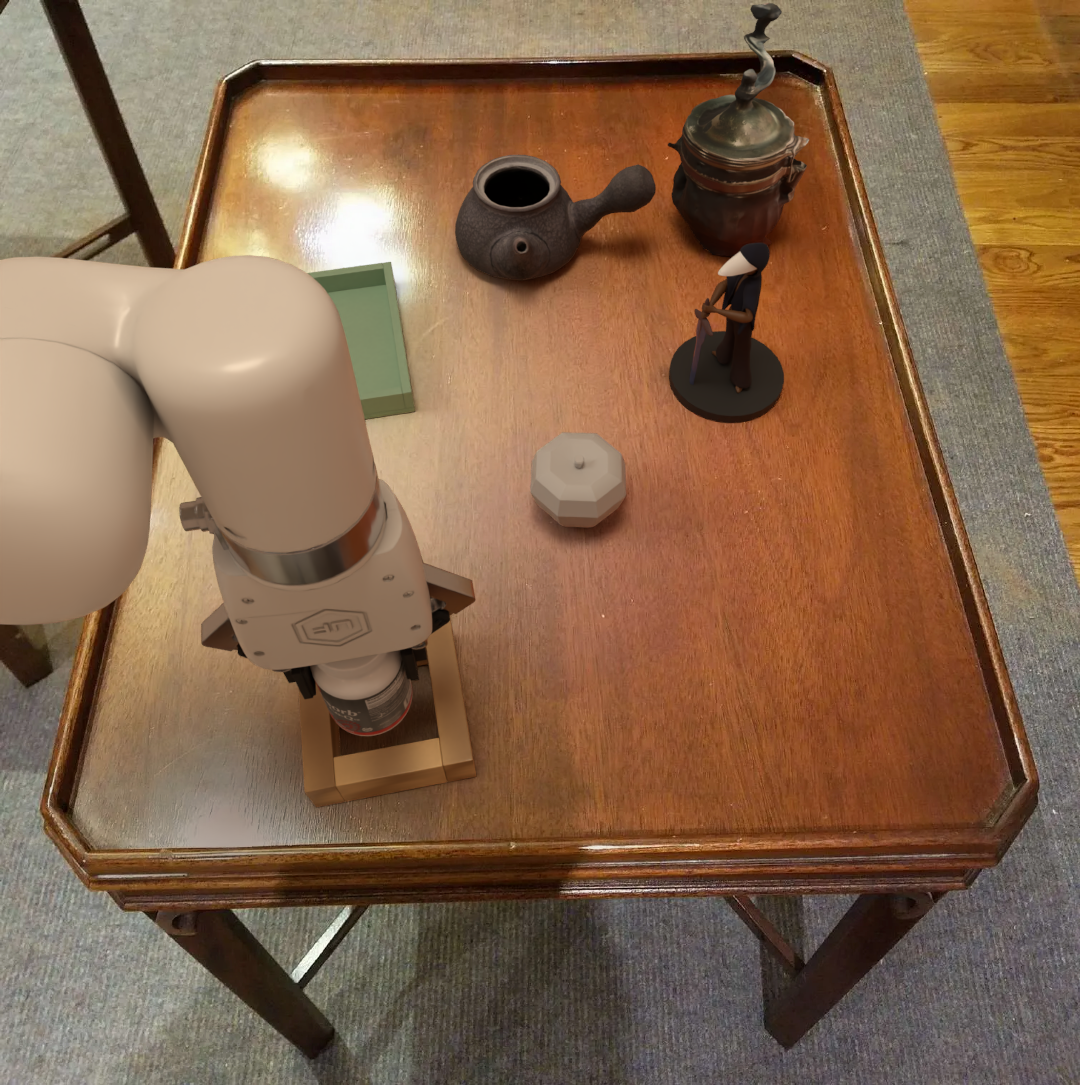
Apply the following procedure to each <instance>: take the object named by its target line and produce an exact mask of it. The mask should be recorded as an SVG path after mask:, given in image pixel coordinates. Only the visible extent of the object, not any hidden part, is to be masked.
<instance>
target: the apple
mask: <svg viewBox="0 0 1080 1085" xmlns="http://www.w3.org/2000/svg"><path fill="white" fill-rule="evenodd" d="M530 468H531V469H530V486H529V487H530V488H529V492H530V496H531V497H532V498H533V500H534V503H535V504H536V505H537V506H538V507H539V508H541V509H542V510H543V511H544V512H545V513H546V514H547V515H549V516H550V517H551V518H552V519H553V520H554V521H555V522H557V523H558V524H559V525H560V526H562V527H563V528H564V527H566V528H586V529H587V528H589V529H590V528H593V527H596V526H597V525H598V524H599V523H601V522H602V521H603V520H605V519H606V518H608V516H610V515H611V514H612V513H614V512H615V511H616V510H618V509H619V508H620V506H621V504H622V503H623V501H624V500H625V498H626V496H627V480H626V479H627V478H626V477H627V475H626V473H627V472H626V471H627V470H626V462H625V459H624V457H623V454H622V453H621V452H620V450H618V449H617V448H616V447H615V446H613V445H612V444H611V443H609V442H608V441H607V440H606V439H605V438H603V437H602V436H601V435H599V434H598V433H597V432H595V433H594V432H572V431H571V432H569V431H568V432H567V431H562V432H561V433H559V434H558V435H556V436H555V437H554V438H552V439H551V440H550V441H548V442H547V443H546V444H544V445H543V446H541V447H540V448H539V449H537V450H536V452H535V454H534V455H533V458H532V460H531V467H530Z"/></svg>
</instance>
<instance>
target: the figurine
mask: <svg viewBox="0 0 1080 1085" xmlns="http://www.w3.org/2000/svg"><path fill="white" fill-rule="evenodd" d="M770 251H771V250H770V247H769V245H766V244H764V243H751V244H746V245H744V246H743V247H742V248H741V249H740V252H738V253H737V254H736V255H734V256H731V258H729V259H728V260H727V261H726V262H725V263H724V264H723V265H722V266H721V267H720V269H718V271H717V275H718V276H720V277H726V278H725V279H724V280H722V281H719V282H718V283H717V284H716V285H715V288H714V290H713V292H712V294H711V297H710V298H709V297H707V298H705V300H704V302H703V303H702V305H701V310H700V309H698V308H694V316H695V317H696V319H697V324H696V328H695V329H696V330H695V335H694V336H692V337H690V338H689V339H687V340H686V341H684V342H682V344H681V345H680V346H678V347H677V349H675V350H676V351H674V353H673V355H672V358H671V360H670V363H669V370H668V382H669V387H670V389H671V391H672V393H673V395H674V397H675V398H676V399H677V400H678V402H679V403H680V404H681V405H682V406H683V407H684V408H685V409H687V410H688V411H690V412H691V413H693V414H694V415H697V416H699V417H701V418H704V419H706V420H709V421H713V422H717V423H725V424H735V423H744V422H748V421H752V420H754V419H757V418H760V417H761V416H763V415H765V414H766V413H768V412H769V411H770V410H771V409H772V408H773V407H775V405H776V404H777V402H778V400H779V399H780V397H781V394H782V390H783V387H784V384H785V372H784V368H783V365H782V363H781V361H780V360H779V357H778V356H777V355H776V354H775V352H773V350H772V349H771V348H769V347H768V346H766V344H765V343H763V342H762V341H759V340H758V339H756V338H754V337H753V332H754V330H755V326H756V316H757V312H758V309H759V303H760V298H761V297H760V296H761V291H762V282H763V281H762V280H763V276H762V272H763V271H764V270H765V269H766V267H767V265H769V264H768V263H769V261H770V256H771V254H770ZM722 297H723V301H722V306H721V308H717V307H716V306H715V305H716V304H717V303H718V301H719V300H720V299H721V298H722ZM728 307H729V308H728ZM727 308H728V309H727ZM711 314H718V315H720V316H723V317H724V318H725V330H718V331H717V330H716V331H715V330H714V331H713V328H712V326H711V322H710V321H709V319H708V317H710V316H711Z"/></svg>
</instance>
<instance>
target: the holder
mask: <svg viewBox="0 0 1080 1085" xmlns="http://www.w3.org/2000/svg"><path fill="white" fill-rule="evenodd" d="M427 640H428V645H427V646H426V647H425V648H426V655H427V660H422V661H417V667H420V666H426V665H428V670H429V678H430V684H431V692H432V698H433V705H434V712H435V719H436V726H437V727H436V728H437V734H438V737H433V738H429V739H425V740H418V741H413V742H408V743H402V744H397V745H392V746H386V747H382V748H375V749H372V750H366V751H360V752H355V753H350V754H344V755H342V745H341V733H340V726H339V725H338V724H337V723H336V722H335V720H334V719H333V718H332V716H331V714H330V712H329V710H328V708H327V706H326V704H325V701H324V699H323V697H322V695H321V693H320V691H319V689H318V686H317V684H316V695H315V696H313V698H310V699H304V698H303V696H302V694H301V692H300V690H299V688H298V687H297V689H298V690H297V691H298V707H299V724H300V742H301V758H302V759H301V760H302V774H303V790H304V791H303V792H304V794H305V795H306V797H307V798H308V799H309V800H310V801H311V803H312V804H313V806H314V807H315V808H322V807H327V806H331V805H337V804H342V803H346V802H352V801H357V800H363V799H367V798H372V797H373V798H374V797H379V796H383V795H389V794H393V793H398V792H404V791H409V790H414V789H420V788H425V787H430V786H434V785H435V786H436V785H440V784H445V783H451V782H456V781H460V780H465V779H471V778H472V779H473V778H476V777H477V770H476V764H475V758H474V751H473V744H472V740H471V733H470V727H469V720H468V715H467V709H466V701H465V695H464V690H463V683H462V678H461V671H460V665H459V659H458V651H457V646H456V641H455V640H456V639H455V634H454V628H453V624H452V619H451V617H450V621H449V622H448V623H447V624H445V625H444V626H442V627H441V628H439V629H438V630H437V631H435V632H434V633H432V634H431V635H430V636H429V637H428V638H427ZM315 683H316V682H315Z"/></svg>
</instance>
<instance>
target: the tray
mask: <svg viewBox="0 0 1080 1085" xmlns="http://www.w3.org/2000/svg"><path fill="white" fill-rule="evenodd" d="M393 270H394V269H393V264H392V262H391V261H386V262H378V263H370V264H363V265H356V266H355V265H354V266H349V267H341V268H333V269H326V270H319V271H313V272H311V271H310V272H307V273H308V274H309V275H311V276H312V277H313V278H314V279H315V280H316V281H317V282H318V283H319V284H320V285H321V286H322V287H323V288H324V289H325V290H326V292H327V293H328V295H329V296H330V297H331V299H332V300H333V302H334V304H335V306H336V308H337V310H338V312H339V315H340V319H341V322H342V325H343V328H344V332H345V335H346V340H347V344H348V348H349V353H350V357H351V361H352V366H353V370H354V374H355V379H356V383H357V387H358V392H359V396H360V400H361V405H362V409H363V413H364V418H365V420H367V419H368V420H369V419H375V418H382V417H389V416H395V415H401V414H402V415H403V414H409V413H414V412H416V406H415V401H414V395H413V389H412V388H413V387H412V381H411V376H410V370H409V362H408V357H407V356H408V355H407V351H406V350H407V349H406V344H405V338H404V333H403V332H404V330H403V324H402V319H401V318H402V317H401V312H400V306H399V299H398V294H397V287H396V281H395V275H394V271H393Z"/></svg>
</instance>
